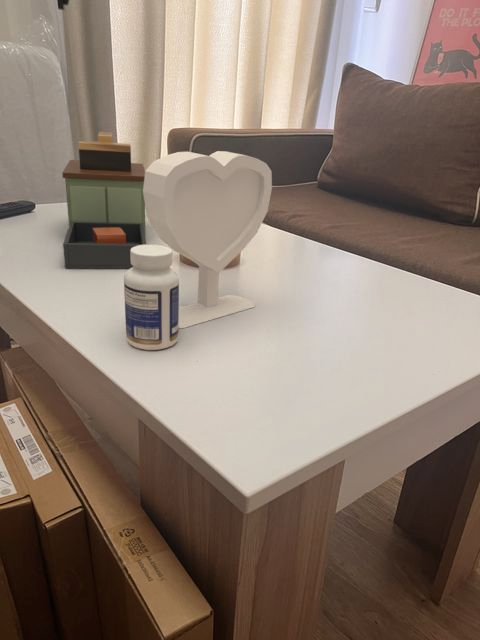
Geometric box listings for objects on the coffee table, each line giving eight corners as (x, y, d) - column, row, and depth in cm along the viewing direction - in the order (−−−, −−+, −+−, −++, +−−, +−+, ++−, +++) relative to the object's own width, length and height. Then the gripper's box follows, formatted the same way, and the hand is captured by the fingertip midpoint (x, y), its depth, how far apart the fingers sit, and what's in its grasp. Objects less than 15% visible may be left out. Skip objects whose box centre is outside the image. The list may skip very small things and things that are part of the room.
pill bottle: (160, 325, 58) (159, 239, 54) (188, 343, 55) (190, 252, 51) (116, 337, 55) (112, 246, 51) (143, 356, 52) (141, 260, 47)
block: (97, 234, 73) (92, 227, 77) (98, 262, 75) (94, 254, 78) (125, 234, 75) (120, 227, 78) (126, 261, 77) (121, 253, 80)
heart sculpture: (167, 332, 57) (168, 158, 49) (141, 317, 60) (137, 151, 52) (266, 303, 67) (279, 155, 60) (239, 291, 70) (248, 149, 63)
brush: (83, 161, 92) (81, 130, 90) (130, 164, 94) (129, 134, 92) (80, 169, 84) (77, 135, 82) (131, 171, 86) (130, 139, 84)
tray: (65, 268, 73) (63, 244, 72) (72, 243, 84) (70, 221, 83) (147, 269, 76) (146, 245, 74) (143, 244, 87) (143, 223, 86)
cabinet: (68, 242, 85) (62, 172, 80) (74, 220, 97) (69, 159, 93) (147, 243, 88) (146, 176, 83) (143, 222, 101) (142, 163, 96)
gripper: (76, -132, 68) (84, 15, 75) (-46, -154, 65) (-25, 2, 72) (72, -154, 62) (81, 9, 69) (-64, -180, 58) (-39, -6, 65)
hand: (27, 5), depth 70 cm, fingers open, 8 cm apart
